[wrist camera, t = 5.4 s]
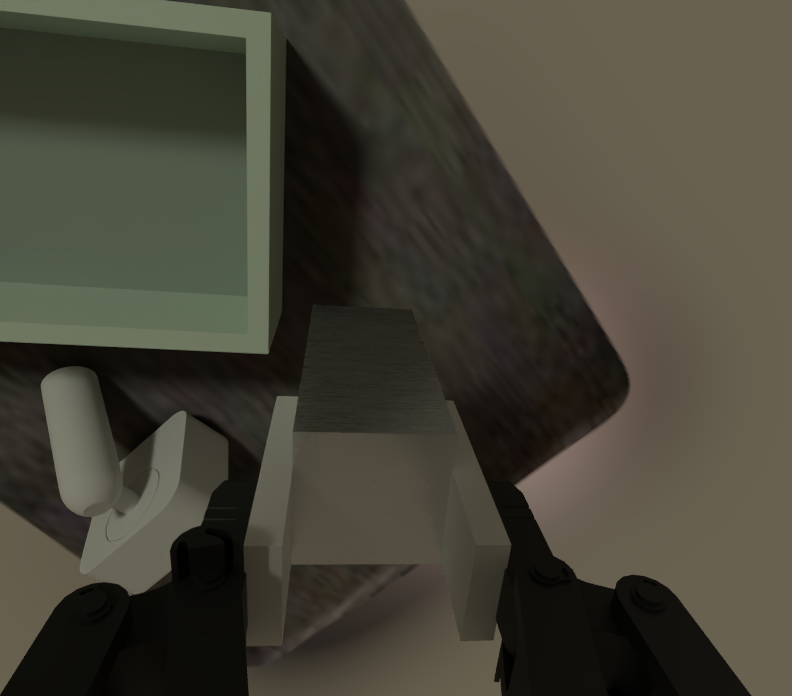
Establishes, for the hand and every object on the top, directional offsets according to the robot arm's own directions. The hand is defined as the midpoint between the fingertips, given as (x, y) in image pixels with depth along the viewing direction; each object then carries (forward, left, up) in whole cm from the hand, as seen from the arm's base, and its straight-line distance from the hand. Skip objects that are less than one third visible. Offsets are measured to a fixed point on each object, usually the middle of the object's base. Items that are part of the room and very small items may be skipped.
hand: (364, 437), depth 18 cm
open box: (-6, -15, -18) cm, 24 cm away
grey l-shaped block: (+3, 0, -6) cm, 7 cm away
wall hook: (+10, -13, -18) cm, 25 cm away
